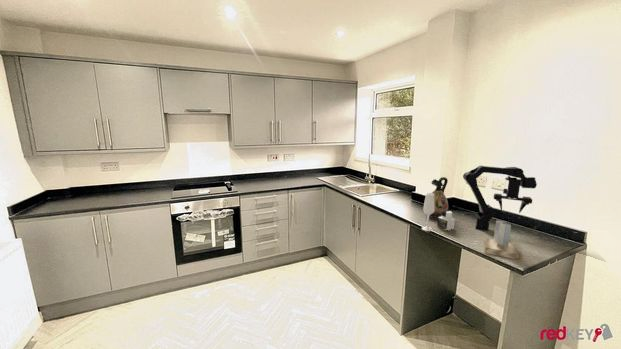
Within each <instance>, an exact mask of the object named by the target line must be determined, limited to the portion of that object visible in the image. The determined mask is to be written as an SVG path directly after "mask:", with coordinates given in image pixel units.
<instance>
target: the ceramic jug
mask: <svg viewBox="0 0 621 349" xmlns="http://www.w3.org/2000/svg"><path fill="white" fill-rule="evenodd" d="M430 183H431V185H432V186H435V187H436V188H435V189H434V190H433V191H432V192H431V193H433V194H434V213H433V214H431V215H429V217H430V216H432V217H431V218H433V217H436V218H435V219H438V217H442V211H443V210H449V201H448V198H447V196H446V195H445V189H446V187H447V184H448V178H447V177H440V178H439V179H438V180H437V179H433V180H432V181H431V182H430Z"/></svg>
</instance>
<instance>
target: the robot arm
mask: <svg viewBox="0 0 621 349" xmlns="http://www.w3.org/2000/svg"><path fill="white" fill-rule="evenodd" d="M484 173H486V174H487V173H489V174H499V175H506V176H507V177H505V178H504V179H505V180H506V181H508V183H507V184H508V185H507V188H503V190H502V191H503V192H502V193H494V194H493V200H495V201H497V202H498V204H499V208H500V211H503V199H504V200H511V201H521V204H520V206H519V211H518V213H519V214H520V213H522V211H523V209H524V208H525V207H526V206H528V205H530V204H533V199H532V198H531V197H530V196H525V195H524V196H522V197H519V194H520V188H522V189H536V188H537V186H538V183H537V180H536V177H534V176H532V177H529V176H528V177H527V176H526V175H525V174H524V170H523V169H522V168H520V167H516V166H510V167H509V166H508V167H497V166H496V167H495V166H488V165H487V166H485V165H478V166H477V167H475V168H473V169H471V170H469V171H466V172H464V174H463V175H462V179H463V180H464V181H465V183H466V184H467V185H468V186H469V187H470V190H471V192H472V193H473V195H474V197H475V198H474V199H475V200H476V202H477V204H478V208H479V212H476V213H475V216H476V224H475V230H480V231H481V230H482V231H488V230H489V228H490V221H491V219H493V218H494V216H495V211H494V210H493V207H492V206H491V205H490V204H487V203H486V201H485V199H484V197H483V196H484V195H482V192H481V190H480V188H479V186H478V178H479V177H480V176H481V175H483V174H484ZM503 194H505V195H503Z"/></svg>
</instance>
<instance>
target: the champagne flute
mask: <svg viewBox="0 0 621 349" xmlns="http://www.w3.org/2000/svg"><path fill="white" fill-rule="evenodd" d="M422 211H423V212H424V214H425V215H426V216H427V217H426V226H423V227H421V229H422V231H425V232H431V231H430V230H431V229H432V227H430V224H429V221H430V216H429V215H431V214H433V213H434V194H433V193H432V192H426V193H425V198H424V203H423V209H422Z"/></svg>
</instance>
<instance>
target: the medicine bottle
mask: <svg viewBox="0 0 621 349" xmlns="http://www.w3.org/2000/svg"><path fill="white" fill-rule="evenodd" d="M455 222H456V219H455V218H453V212H452V211H451V210H449V209H448V210H443V211H442V217H438V218H437V225H436V226H437V228H438V227H439V229H441V230H443V229H444V231H446V230H448V231H451V229H452V230H454V229H455Z"/></svg>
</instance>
